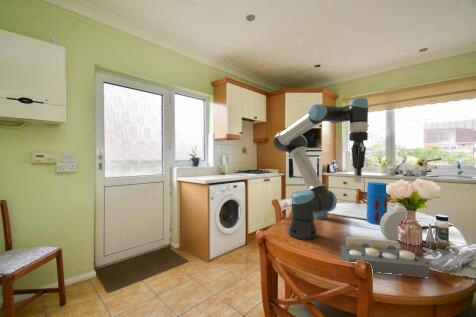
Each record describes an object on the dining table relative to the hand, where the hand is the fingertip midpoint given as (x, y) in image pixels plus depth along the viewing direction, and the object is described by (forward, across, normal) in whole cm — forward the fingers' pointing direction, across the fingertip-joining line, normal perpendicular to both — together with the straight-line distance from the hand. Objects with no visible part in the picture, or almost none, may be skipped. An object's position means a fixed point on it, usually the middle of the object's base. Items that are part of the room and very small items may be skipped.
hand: (357, 182), depth 103 cm
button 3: (+29, -18, -6) cm, 35 cm away
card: (+30, -9, -3) cm, 32 cm away
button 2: (+27, -18, 0) cm, 33 cm away
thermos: (+31, +41, -24) cm, 57 cm away
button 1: (+29, -18, +6) cm, 35 cm away
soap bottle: (+31, +14, -24) cm, 41 cm away
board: (+30, -18, -3) cm, 35 cm away
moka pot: (+31, +45, +9) cm, 55 cm away
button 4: (+27, -18, -12) cm, 35 cm away
